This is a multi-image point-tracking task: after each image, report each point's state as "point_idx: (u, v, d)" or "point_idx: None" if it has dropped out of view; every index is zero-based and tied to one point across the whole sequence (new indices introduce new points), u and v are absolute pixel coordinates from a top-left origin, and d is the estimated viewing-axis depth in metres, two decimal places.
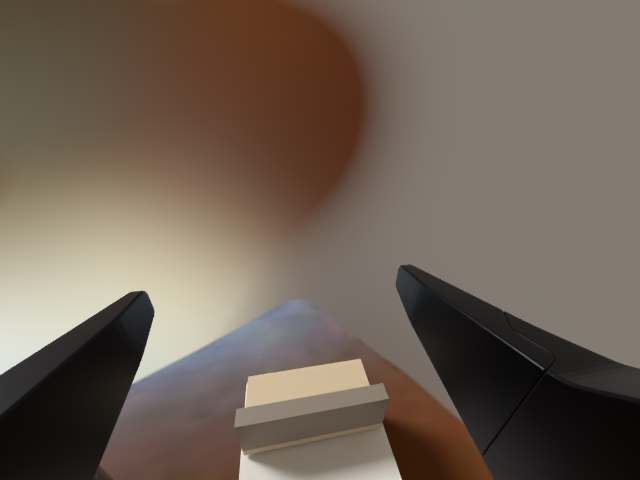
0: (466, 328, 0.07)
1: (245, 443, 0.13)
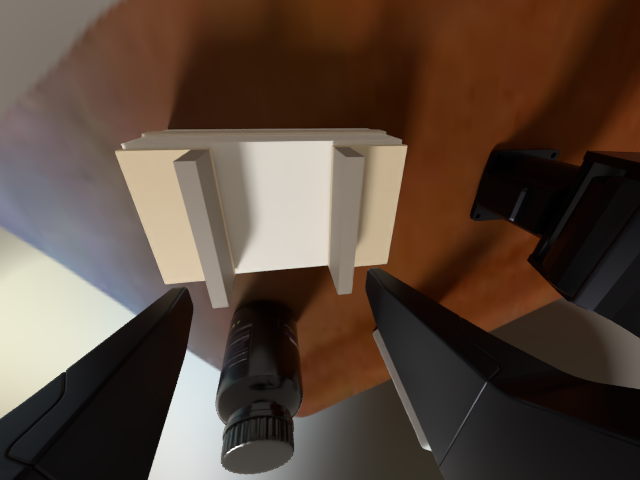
0: (422, 335, 0.06)
1: (232, 282, 0.15)
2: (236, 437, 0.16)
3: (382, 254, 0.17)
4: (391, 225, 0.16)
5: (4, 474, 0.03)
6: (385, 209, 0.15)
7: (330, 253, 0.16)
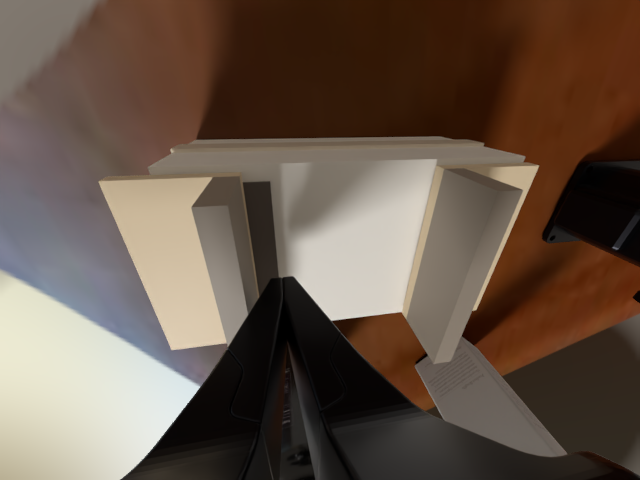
0: (297, 353, 0.06)
1: None
2: None
3: None
4: (492, 265, 0.12)
5: (243, 430, 0.04)
6: None
7: (412, 302, 0.12)
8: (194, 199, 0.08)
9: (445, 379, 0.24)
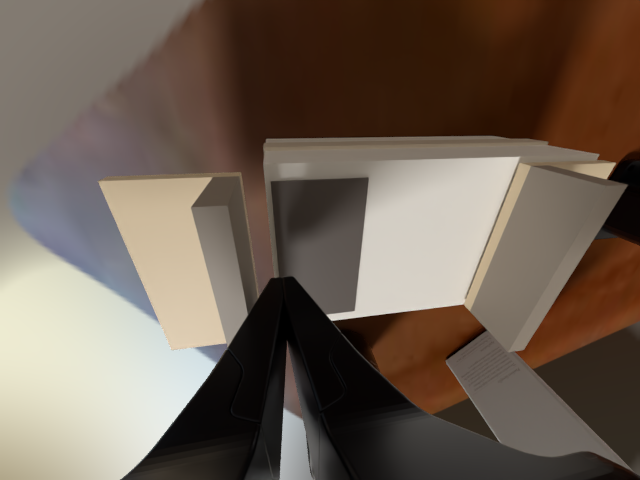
0: (297, 353, 0.06)
1: None
2: None
3: None
4: None
5: (242, 430, 0.04)
6: None
7: (480, 294, 0.12)
8: (194, 199, 0.08)
9: (479, 374, 0.24)
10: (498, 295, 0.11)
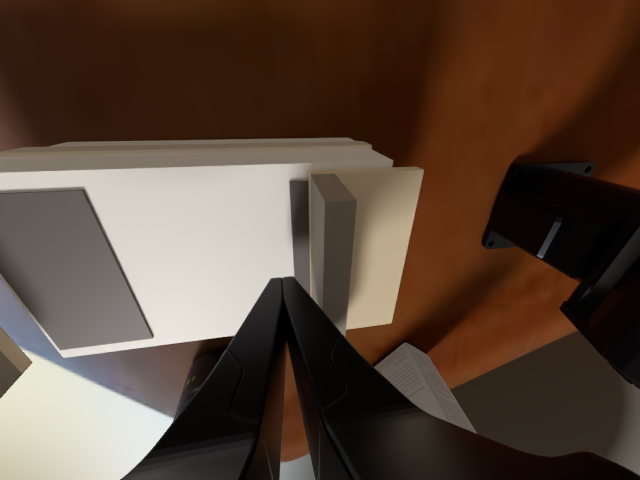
0: (297, 353, 0.06)
1: (0, 389, 0.09)
2: None
3: (385, 313, 0.12)
4: (398, 277, 0.11)
5: (242, 430, 0.04)
6: (389, 258, 0.10)
7: None
8: None
9: None
10: None
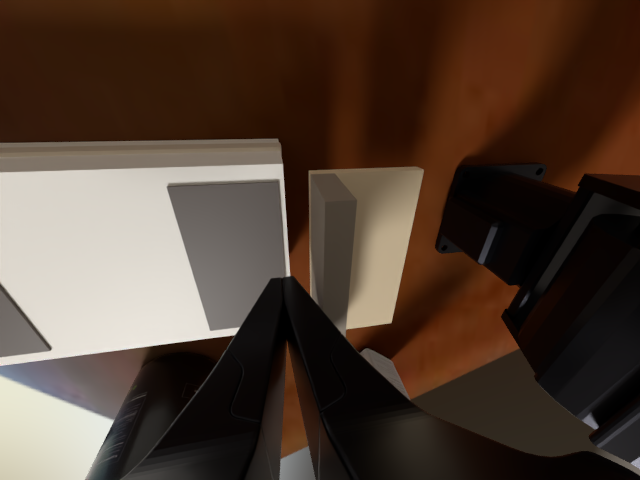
0: (297, 353, 0.06)
1: None
2: None
3: (385, 312, 0.12)
4: (398, 277, 0.11)
5: (242, 430, 0.04)
6: (389, 258, 0.10)
7: None
8: None
9: None
10: None
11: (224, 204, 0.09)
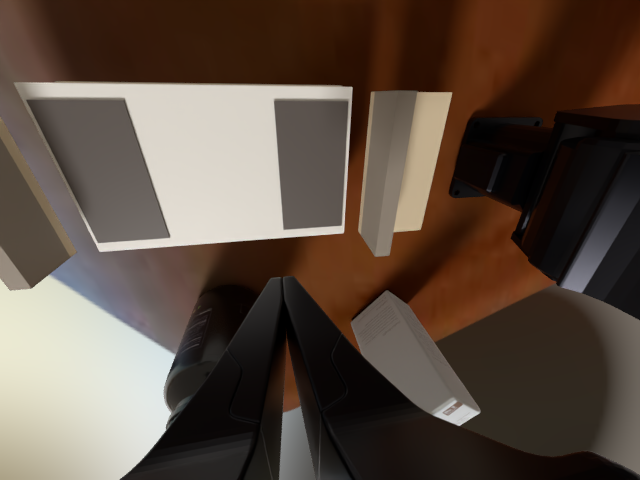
0: (298, 353, 0.06)
1: (57, 261, 0.12)
2: None
3: (416, 219, 0.16)
4: (428, 185, 0.15)
5: (242, 429, 0.04)
6: (423, 167, 0.14)
7: (363, 216, 0.15)
8: None
9: (371, 330, 0.26)
10: (369, 210, 0.14)
11: (309, 117, 0.12)
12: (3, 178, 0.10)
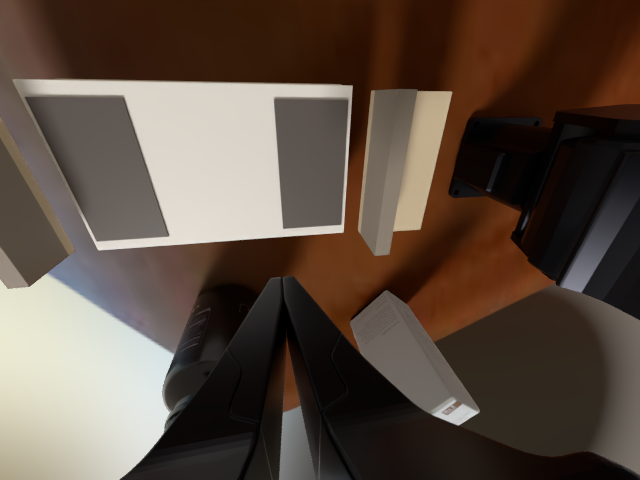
0: (298, 352, 0.06)
1: (55, 259, 0.12)
2: None
3: (416, 218, 0.16)
4: (428, 185, 0.15)
5: (242, 430, 0.04)
6: (423, 166, 0.14)
7: (363, 215, 0.15)
8: None
9: (370, 329, 0.26)
10: (369, 209, 0.14)
11: (309, 116, 0.12)
12: (1, 175, 0.10)
